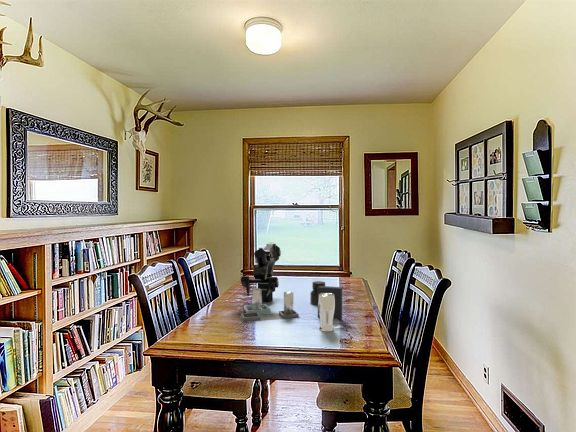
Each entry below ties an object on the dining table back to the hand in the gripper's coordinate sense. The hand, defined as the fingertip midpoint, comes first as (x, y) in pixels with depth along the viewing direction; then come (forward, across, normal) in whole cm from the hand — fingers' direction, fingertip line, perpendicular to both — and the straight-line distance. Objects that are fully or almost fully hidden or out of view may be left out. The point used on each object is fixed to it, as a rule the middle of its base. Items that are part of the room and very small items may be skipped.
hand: (257, 295), depth 201 cm
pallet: (+13, +8, -1) cm, 15 cm away
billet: (+10, +16, +1) cm, 19 cm away
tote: (+6, 0, +6) cm, 8 cm away
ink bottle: (-9, +29, +22) cm, 37 cm away
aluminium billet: (+5, 0, +6) cm, 8 cm away
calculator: (+10, +36, +2) cm, 37 cm away
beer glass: (+22, +35, -9) cm, 43 cm away
